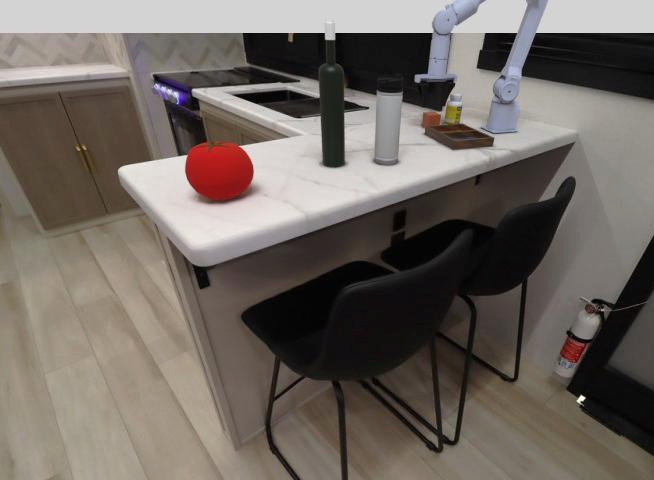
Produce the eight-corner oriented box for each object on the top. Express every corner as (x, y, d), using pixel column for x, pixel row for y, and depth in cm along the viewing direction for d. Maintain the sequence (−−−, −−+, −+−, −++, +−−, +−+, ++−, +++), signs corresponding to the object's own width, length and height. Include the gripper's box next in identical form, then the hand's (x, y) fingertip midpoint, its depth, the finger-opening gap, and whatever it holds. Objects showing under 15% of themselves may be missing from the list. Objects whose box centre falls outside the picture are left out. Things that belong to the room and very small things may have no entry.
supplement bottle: (455, 128, 131) (460, 96, 125) (441, 125, 133) (445, 94, 127) (461, 125, 135) (466, 94, 129) (447, 122, 137) (451, 92, 131)
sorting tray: (461, 131, 128) (462, 123, 126) (492, 146, 115) (494, 137, 113) (424, 134, 124) (425, 125, 122) (453, 150, 110) (454, 141, 109)
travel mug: (403, 161, 101) (410, 75, 89) (387, 167, 97) (392, 77, 85) (385, 155, 104) (390, 72, 92) (369, 161, 100) (371, 74, 88)
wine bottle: (349, 164, 98) (348, 20, 80) (332, 169, 95) (327, 20, 76) (335, 158, 101) (331, 19, 83) (318, 163, 98) (310, 19, 80)
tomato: (180, 198, 78) (164, 143, 71) (229, 180, 87) (219, 129, 80) (220, 212, 73) (207, 155, 67) (267, 191, 82) (260, 138, 76)
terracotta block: (433, 125, 133) (434, 111, 130) (439, 128, 130) (441, 114, 127) (421, 126, 132) (423, 112, 129) (427, 129, 128) (429, 115, 125)
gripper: (452, 57, 123) (445, 103, 131) (412, 57, 119) (408, 104, 127) (463, 59, 118) (456, 107, 126) (422, 59, 113) (417, 109, 122)
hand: (432, 106), depth 126 cm, fingers open, 7 cm apart
